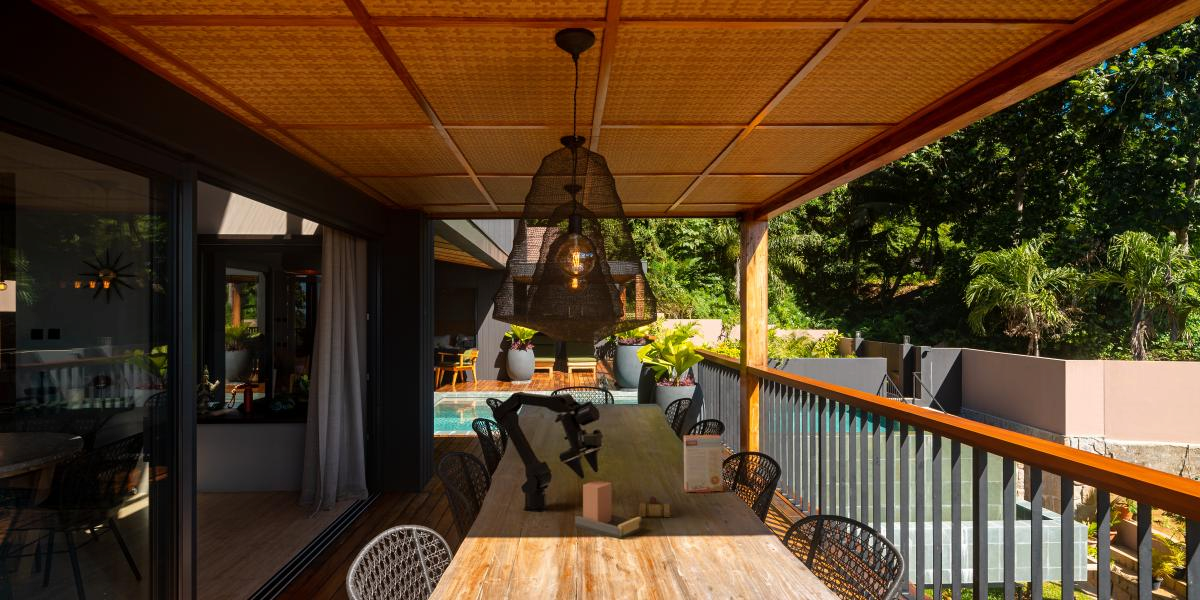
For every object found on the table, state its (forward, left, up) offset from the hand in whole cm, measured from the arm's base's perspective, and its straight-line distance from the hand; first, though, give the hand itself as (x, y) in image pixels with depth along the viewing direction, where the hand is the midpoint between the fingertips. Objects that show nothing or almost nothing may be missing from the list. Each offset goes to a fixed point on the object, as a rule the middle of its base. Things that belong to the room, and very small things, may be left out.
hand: (590, 475), depth 215 cm
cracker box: (+33, +42, -14) cm, 55 cm away
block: (+4, -6, -13) cm, 15 cm away
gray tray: (+8, -8, -14) cm, 18 cm away
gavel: (+19, +16, -15) cm, 28 cm away
